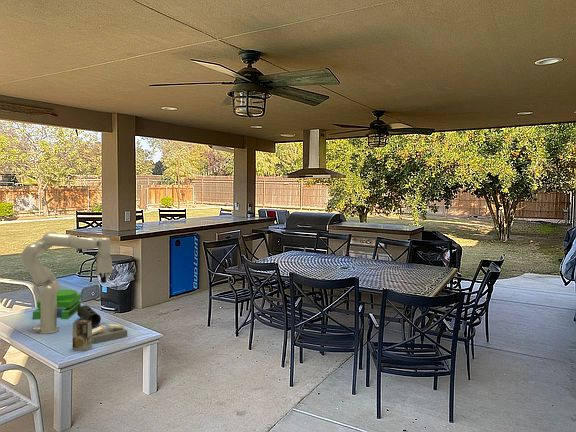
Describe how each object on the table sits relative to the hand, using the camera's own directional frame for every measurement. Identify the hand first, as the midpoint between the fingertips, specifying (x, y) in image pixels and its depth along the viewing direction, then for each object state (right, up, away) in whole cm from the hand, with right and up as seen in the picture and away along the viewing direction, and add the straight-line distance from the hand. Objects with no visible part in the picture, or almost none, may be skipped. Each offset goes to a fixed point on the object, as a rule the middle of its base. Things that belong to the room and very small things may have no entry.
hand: (103, 282), depth 294 cm
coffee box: (+3, -34, -36) cm, 50 cm away
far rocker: (+13, -27, -12) cm, 32 cm away
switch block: (+9, -33, -16) cm, 38 cm away
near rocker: (+5, -27, -21) cm, 34 cm away
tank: (-49, -30, +31) cm, 65 cm away
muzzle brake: (-17, -31, +14) cm, 38 cm away
